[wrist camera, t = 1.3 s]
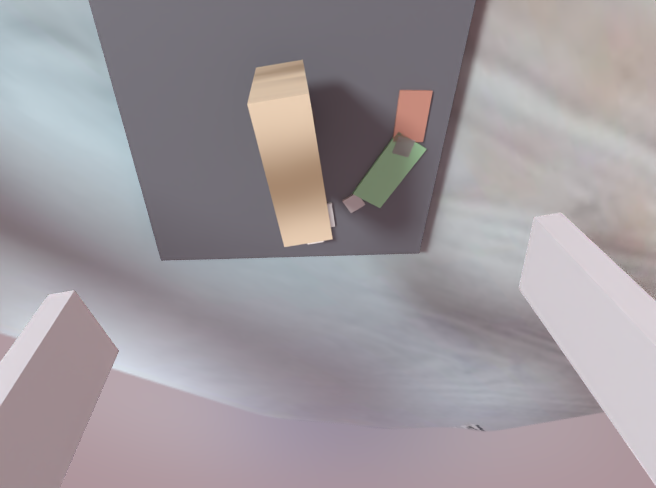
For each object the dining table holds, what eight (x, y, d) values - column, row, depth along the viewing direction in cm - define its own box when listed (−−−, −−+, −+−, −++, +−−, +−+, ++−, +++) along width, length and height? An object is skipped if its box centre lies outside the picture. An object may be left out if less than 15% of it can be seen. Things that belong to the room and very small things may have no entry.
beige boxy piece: (254, 58, 21) (241, 104, 15) (304, 50, 21) (314, 92, 15) (296, 239, 29) (300, 322, 22) (333, 233, 29) (348, 314, 22)
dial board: (166, 248, 31) (160, 262, 29) (63, -143, 17) (44, -151, 16) (414, 242, 32) (419, 254, 31) (488, -114, 19) (504, -119, 18)
